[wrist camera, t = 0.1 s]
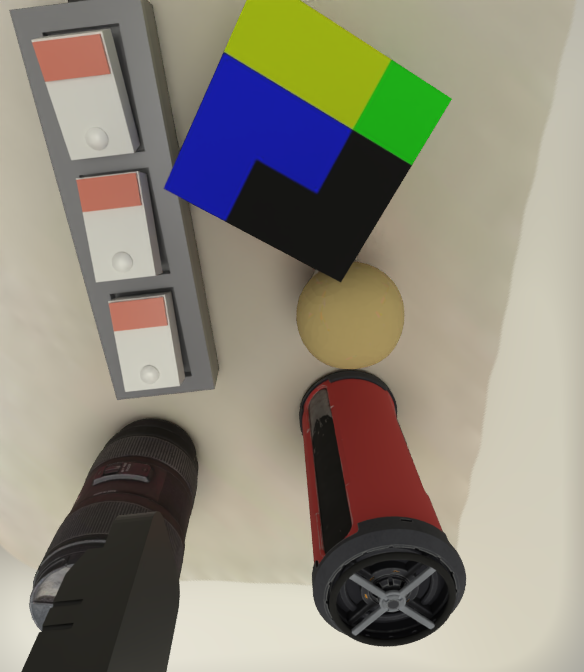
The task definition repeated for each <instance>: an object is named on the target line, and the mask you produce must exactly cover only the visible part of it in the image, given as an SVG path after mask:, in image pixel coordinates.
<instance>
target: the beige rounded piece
mask: <svg viewBox="0 0 584 672" xmlns="http://www.w3.org/2000/svg"><path fill="white" fill-rule="evenodd" d="M296 321H297V326H298V331H299V334H300V336H301V339H302V341H303V343H304V344H305V346H306V347H307V349H308V350H309V352H310V353H311V354H312V355H313V356H314V357H316V358H317V359H318V360H319V361H321V362H323V363H325V364H326V365H329V366H332V367H336V368H342V369H358V368H363V367H368V366H371V365H373V364H376V363H378V362H380V361H381V360H383V359H384V358H386V357H387V356H388V355H389V354H390V353H391V352H392V350H393V349H394V348H395V346H396V344H397V342H398V341H399V338H400V336H401V333H402V329H403V324H404V305H403V301H402V298H401V295H400V293H399V291H398V288H397V287H396V285H395V284H394V282H393V281H392V280H391V279H390V278H389V277H388V276H387V275H386V274H385V273H383V272H382V271H380V270H379V269H377V268H375V267H373V266H370V265H368V264H364V263H360V262H353V263H352V265H351V267H350V268H349V270H348V272H347V273H346V275H345V277H344V278H343V280H342V282H339V281H337V280H335V279H333V278H331V277H329V276H327V275H325V274H324V273H322V272H320V271H318V270H315V272H314V274H313V276H312V278H311V279H310V280H309V282H308V283H307V284H306V286H305V287H304V289H303V291H302V293H301V295H300V297H299V301H298V305H297V318H296Z"/></svg>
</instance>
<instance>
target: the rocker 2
mask: <svg viewBox="0 0 584 672" xmlns="http://www.w3.org/2000/svg"><path fill="white" fill-rule="evenodd" d="M76 181H77V186H78V191H79V197H80V202H81V207H82V212H83V217H84V223H85V228H86V233H87V238H88V243H89V249H90V254H91V259H92V264H93V269H94V275H95V280H96V282H104V281H113V280H122V279H131V278H139V277H148V276H156V275H158V274H161V273H163V272H162V266H161V260H160V254H159V247H158V241H157V235H156V229H155V223H154V217H153V211H152V205H151V199H150V193H149V187H148V181H147V175H146V174H145V173H142V172H139V171H136V172H127V173H119V174H110V175H102V176H93V177H85V178H76Z"/></svg>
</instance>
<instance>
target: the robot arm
mask: <svg viewBox="0 0 584 672" xmlns="http://www.w3.org/2000/svg"><path fill="white" fill-rule="evenodd" d="M179 597H180V589H179V576H178V571H177V567H176V563H175V559H174V556H173V552H172V548H171V544H170V541H169V537H168V533H167V529H166V526H165V522H164V518H163V516H162V514H161V513H160V512H159V511H156V512H147V513H138V514H129V515H119V516H117V517H116V518H115V520H114V522H113V524H112V527H111V529H110V532H109V534H108V537H107V539H106V542H105V544H104V547H102V548H93V549H87V550H86V552H85V553H84V554H83V555H82V556H81V557H80V558H79V559H78V561H77V562H76V563H75V564H74V565H73V566H72V567H71V568H70V569H69V571H68V572H67V573H66V574H65V576H64V578H63V581H62V583H61V585H60V587H59V590H58V592H57V594H56V596H55V598H54V601H53V607H52V608H50V610H49V612H48V614H47V616H46V618H45V621H44V623H43V625H42V632H39V634H38V636H37V639H36V641H35V643H34V645H33V647H32V650H31V652H30V654H29V657H28V658H27V661H26V663H25V665H24V667H23V670H22V672H166V671H167V665H168V660H169V655H170V650H171V645H172V639H173V634H174V629H175V624H176V619H177V614H178V608H179Z"/></svg>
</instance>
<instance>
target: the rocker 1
mask: <svg viewBox="0 0 584 672" xmlns="http://www.w3.org/2000/svg"><path fill="white" fill-rule="evenodd" d="M31 41H32V44H33V47H34V50H35V53H36V56H37V59H38V62H39V65H40V68H41V71H42V74H43V77H44V80H45V83H46V86H47V89H48V92H49V95H50V98H51V101H52V104H53V107H54V110H55V113H56V116H57V119H58V122H59V125H60V128H61V131H62V134H63V137H64V140H65V143H66V146H67V149H68V152H69V155H70V158H71V160H78V159H87V158H95V157H104V156H112V155H120V154H129V153H134V152H135V151H136V150H137V148H138V147H139V146H140V142H139V138H138V134H137V130H136V126H135V122H134V118H133V114H132V111H131V107H130V103H129V99H128V95H127V91H126V87H125V83H124V79H123V75H122V72H121V68H120V64H119V60H118V56H117V52H116V48H115V44H114V40H113V36H112V33H111V29H101V30H93V31H85V32H77V33H69V34H61V35H52V36H44V37H40V38H36V39H33V40H31Z"/></svg>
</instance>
